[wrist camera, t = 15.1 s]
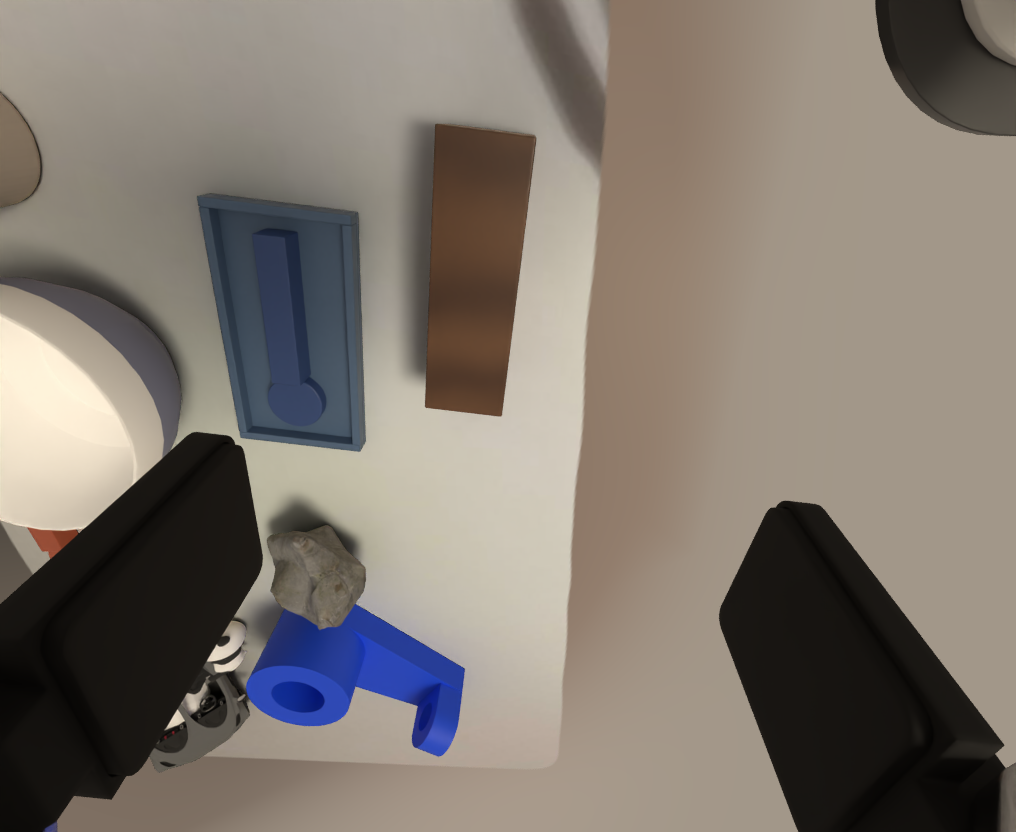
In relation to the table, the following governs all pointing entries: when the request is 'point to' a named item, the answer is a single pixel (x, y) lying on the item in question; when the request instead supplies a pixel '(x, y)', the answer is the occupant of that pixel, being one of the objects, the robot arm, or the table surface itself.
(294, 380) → the blue spoon
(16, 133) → the coffee cup
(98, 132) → the table surface
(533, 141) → the brown slab
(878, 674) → the robot arm
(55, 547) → the terracotta spoon
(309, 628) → the bracket
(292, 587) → the fossil
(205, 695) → the toy car
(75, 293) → the bowl
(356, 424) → the blue tray
